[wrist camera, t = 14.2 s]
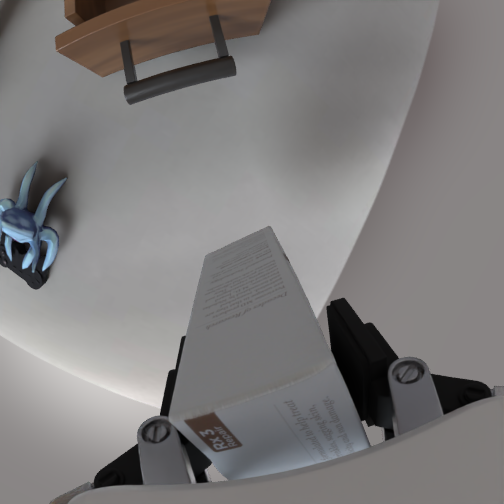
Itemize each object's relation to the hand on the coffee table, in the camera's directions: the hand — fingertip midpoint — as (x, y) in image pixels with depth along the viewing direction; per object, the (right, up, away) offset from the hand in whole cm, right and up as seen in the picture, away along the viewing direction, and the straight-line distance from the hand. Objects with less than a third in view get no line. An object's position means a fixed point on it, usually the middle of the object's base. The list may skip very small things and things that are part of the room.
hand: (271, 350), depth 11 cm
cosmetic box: (-1, +2, +7) cm, 7 cm away
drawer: (-8, +24, +7) cm, 26 cm away
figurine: (-22, +7, +12) cm, 26 cm away
